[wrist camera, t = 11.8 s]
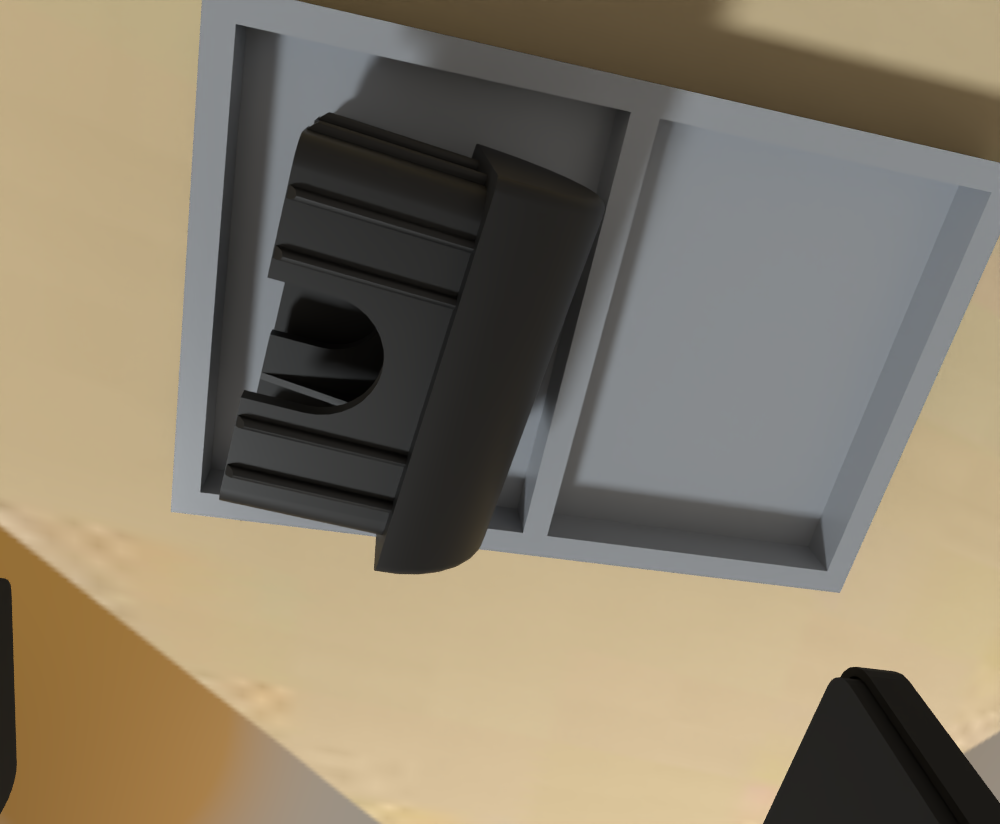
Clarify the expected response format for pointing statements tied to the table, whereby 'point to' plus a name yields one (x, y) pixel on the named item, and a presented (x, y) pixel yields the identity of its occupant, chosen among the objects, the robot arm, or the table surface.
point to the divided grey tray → (616, 290)
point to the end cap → (406, 337)
